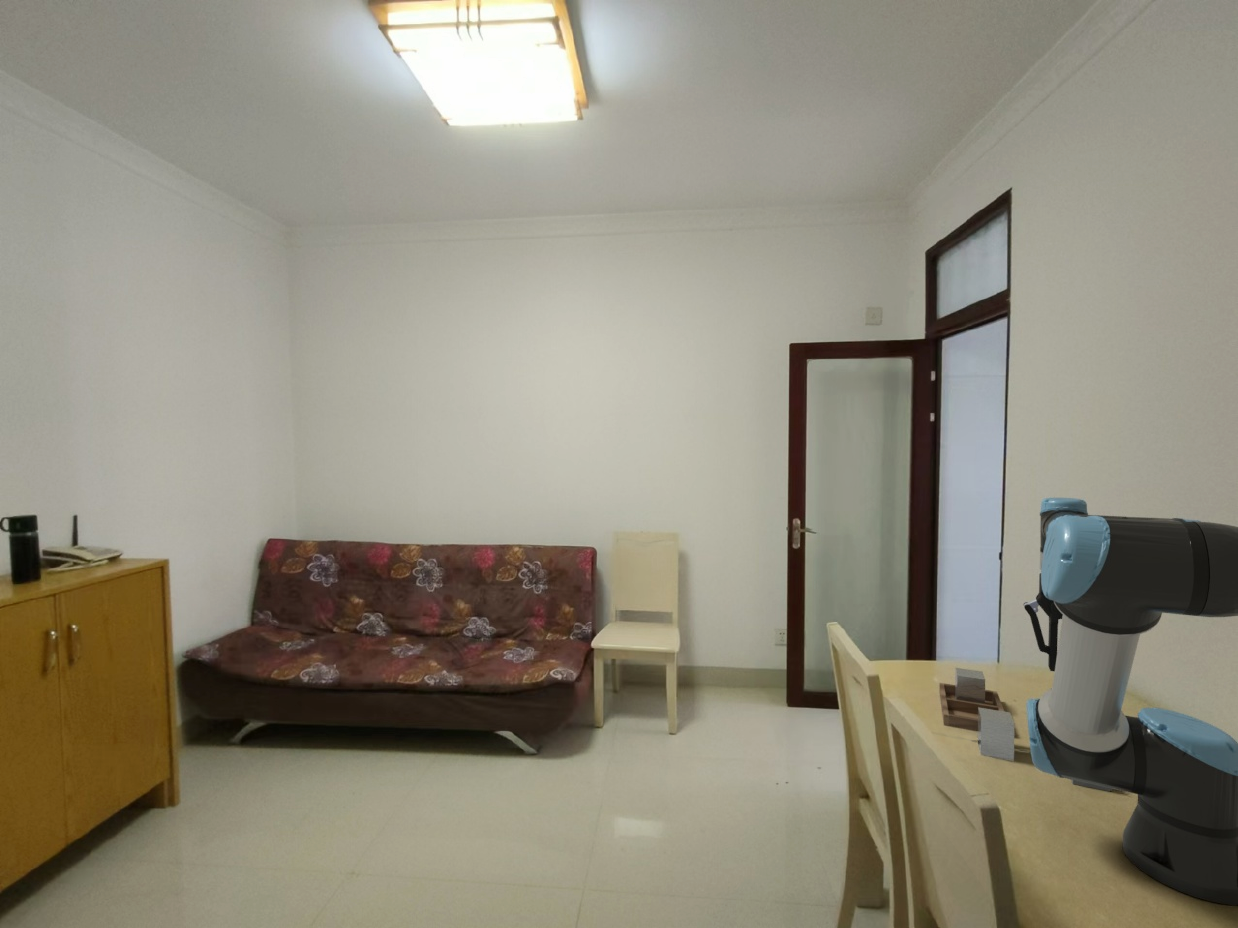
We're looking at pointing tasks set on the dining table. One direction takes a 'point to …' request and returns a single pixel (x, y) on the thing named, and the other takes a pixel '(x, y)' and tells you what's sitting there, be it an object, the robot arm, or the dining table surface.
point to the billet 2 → (996, 734)
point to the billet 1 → (969, 685)
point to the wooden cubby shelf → (964, 708)
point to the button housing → (1090, 785)
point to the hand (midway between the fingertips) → (1059, 687)
